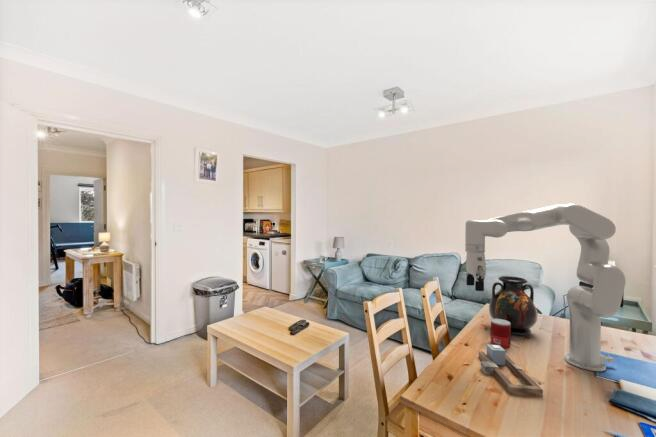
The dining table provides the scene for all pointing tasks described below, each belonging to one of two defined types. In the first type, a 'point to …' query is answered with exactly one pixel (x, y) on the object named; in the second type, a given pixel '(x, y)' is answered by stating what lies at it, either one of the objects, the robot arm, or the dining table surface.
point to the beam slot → (492, 369)
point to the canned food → (500, 332)
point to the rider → (496, 354)
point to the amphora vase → (514, 305)
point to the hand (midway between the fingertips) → (474, 287)
